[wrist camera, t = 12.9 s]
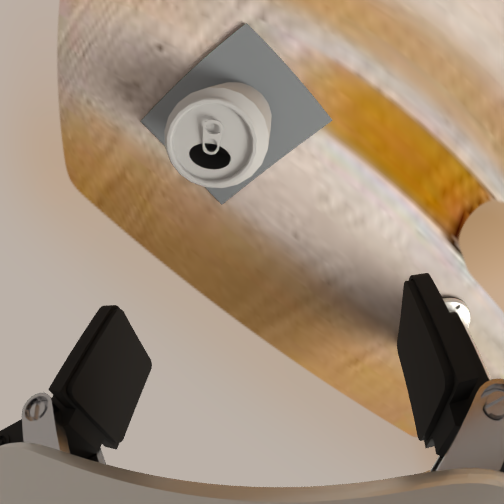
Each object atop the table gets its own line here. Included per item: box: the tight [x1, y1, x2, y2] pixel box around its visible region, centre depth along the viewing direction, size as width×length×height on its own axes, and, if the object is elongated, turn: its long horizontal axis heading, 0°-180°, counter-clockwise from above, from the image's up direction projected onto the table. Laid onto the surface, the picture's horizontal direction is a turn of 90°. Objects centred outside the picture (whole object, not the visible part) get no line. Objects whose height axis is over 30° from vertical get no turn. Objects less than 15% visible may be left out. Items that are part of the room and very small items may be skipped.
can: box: [164, 82, 272, 188], centre depth 25 cm, size 8×8×12 cm
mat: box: [141, 23, 332, 204], centre depth 30 cm, size 13×15×1 cm
